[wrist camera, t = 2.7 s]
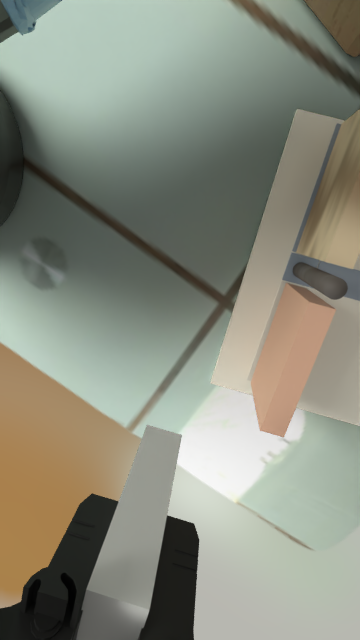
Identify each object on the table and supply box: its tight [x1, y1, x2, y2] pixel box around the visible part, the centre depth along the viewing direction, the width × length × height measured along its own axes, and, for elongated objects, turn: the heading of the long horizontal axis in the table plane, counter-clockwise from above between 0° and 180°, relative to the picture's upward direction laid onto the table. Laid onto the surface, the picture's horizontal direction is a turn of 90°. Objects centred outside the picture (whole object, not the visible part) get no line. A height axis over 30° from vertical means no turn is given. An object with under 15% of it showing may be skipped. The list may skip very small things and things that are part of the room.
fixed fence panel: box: [293, 109, 360, 300], centre depth 21 cm, size 11×2×9 cm, turn 165°
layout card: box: [211, 109, 360, 426], centre depth 26 cm, size 16×22×1 cm
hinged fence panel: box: [251, 283, 336, 437], centre depth 24 cm, size 9×2×7 cm, turn 165°
